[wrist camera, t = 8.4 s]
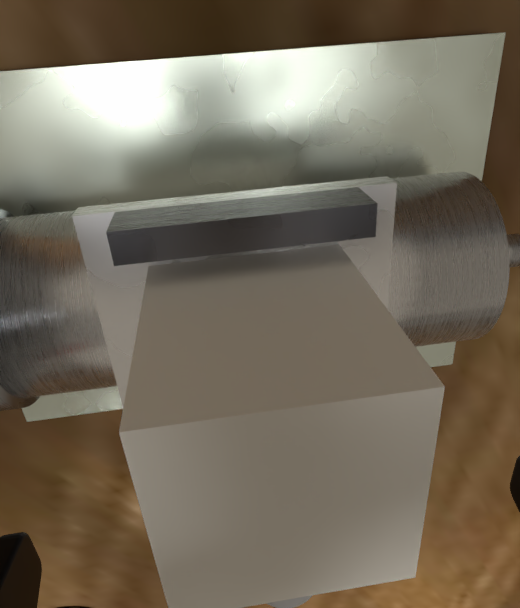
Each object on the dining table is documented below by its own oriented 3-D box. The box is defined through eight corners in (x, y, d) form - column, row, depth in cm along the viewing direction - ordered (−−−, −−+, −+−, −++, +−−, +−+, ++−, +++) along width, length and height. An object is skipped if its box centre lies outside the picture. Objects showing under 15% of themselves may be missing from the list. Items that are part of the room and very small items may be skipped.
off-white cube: (339, 244, 13) (444, 386, 7) (336, 438, 16) (406, 629, 11) (148, 266, 12) (118, 431, 7) (186, 460, 16) (186, 670, 10)
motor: (495, 32, 17) (723, 26, 10) (446, 351, 24) (560, 489, 17) (-94, 77, 16) (-347, 111, 8) (33, 407, 22) (-43, 586, 15)
